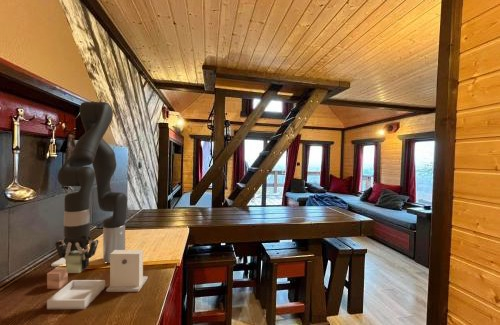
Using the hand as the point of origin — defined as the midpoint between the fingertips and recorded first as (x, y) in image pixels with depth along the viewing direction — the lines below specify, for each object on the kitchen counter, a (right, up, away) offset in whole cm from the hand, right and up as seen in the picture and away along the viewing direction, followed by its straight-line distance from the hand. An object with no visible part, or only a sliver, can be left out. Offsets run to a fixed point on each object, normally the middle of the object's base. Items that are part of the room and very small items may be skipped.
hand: (77, 268), depth 84 cm
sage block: (0, 0, 0) cm, 0 cm away
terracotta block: (-14, -10, +8) cm, 19 cm away
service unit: (+13, -11, +9) cm, 20 cm away
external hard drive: (-22, -10, +26) cm, 35 cm away
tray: (0, -11, +1) cm, 11 cm away
